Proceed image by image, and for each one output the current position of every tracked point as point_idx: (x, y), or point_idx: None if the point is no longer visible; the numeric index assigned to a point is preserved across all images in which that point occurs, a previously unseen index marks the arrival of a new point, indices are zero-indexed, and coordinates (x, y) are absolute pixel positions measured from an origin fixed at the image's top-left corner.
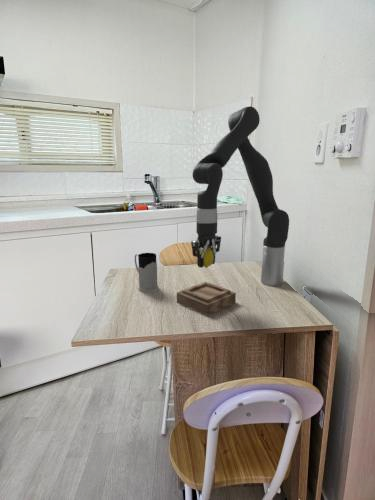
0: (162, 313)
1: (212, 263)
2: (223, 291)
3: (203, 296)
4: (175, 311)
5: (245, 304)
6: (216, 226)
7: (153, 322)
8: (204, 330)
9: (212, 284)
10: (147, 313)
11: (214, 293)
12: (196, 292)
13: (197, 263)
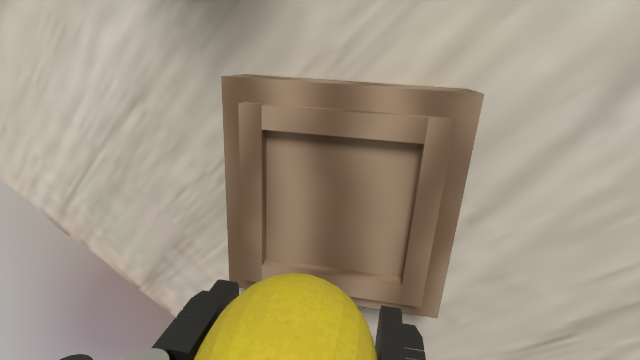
0: (129, 111)
1: (376, 341)
2: (382, 288)
3: (260, 246)
4: (180, 140)
5: (438, 323)
6: None
7: (67, 141)
8: (171, 302)
9: (438, 188)
10: (79, 60)
11: (357, 244)
12: (301, 164)
13: (186, 306)
